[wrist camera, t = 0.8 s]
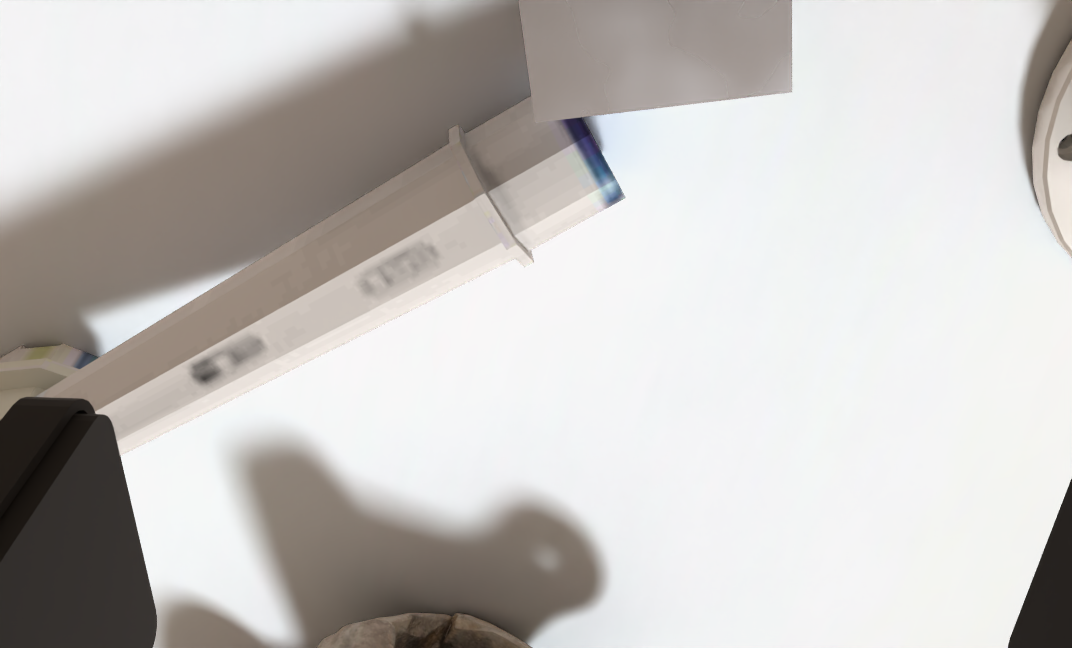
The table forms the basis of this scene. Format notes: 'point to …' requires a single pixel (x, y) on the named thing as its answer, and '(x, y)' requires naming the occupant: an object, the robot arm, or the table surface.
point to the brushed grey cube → (652, 53)
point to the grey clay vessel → (422, 633)
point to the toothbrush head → (338, 276)
